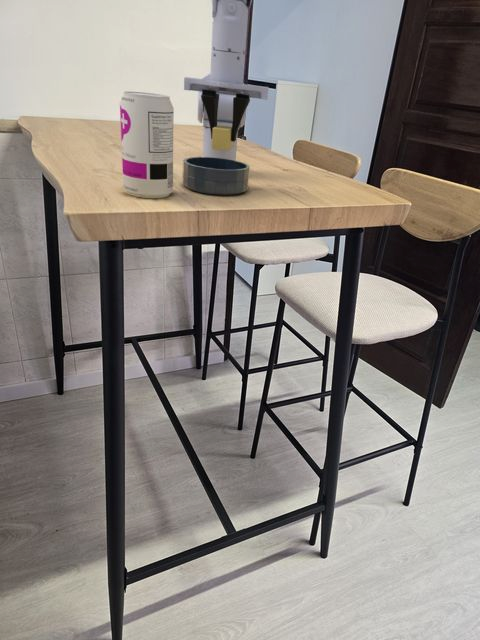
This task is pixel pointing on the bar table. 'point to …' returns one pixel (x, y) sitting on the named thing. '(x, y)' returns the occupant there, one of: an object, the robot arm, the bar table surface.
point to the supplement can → (147, 144)
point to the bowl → (215, 175)
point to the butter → (222, 138)
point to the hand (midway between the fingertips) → (223, 139)
